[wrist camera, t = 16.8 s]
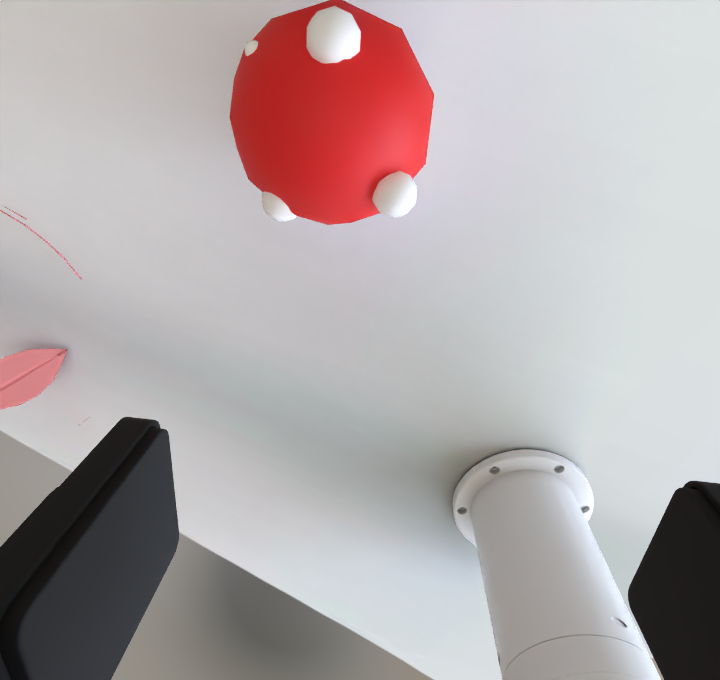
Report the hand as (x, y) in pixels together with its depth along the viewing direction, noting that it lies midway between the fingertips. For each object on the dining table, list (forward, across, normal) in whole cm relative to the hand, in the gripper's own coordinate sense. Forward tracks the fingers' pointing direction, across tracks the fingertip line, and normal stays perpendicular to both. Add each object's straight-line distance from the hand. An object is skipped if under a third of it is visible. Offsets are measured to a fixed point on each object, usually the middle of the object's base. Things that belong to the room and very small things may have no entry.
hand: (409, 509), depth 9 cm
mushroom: (+28, +4, -6) cm, 29 cm away
